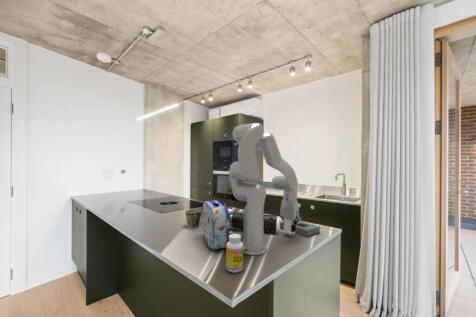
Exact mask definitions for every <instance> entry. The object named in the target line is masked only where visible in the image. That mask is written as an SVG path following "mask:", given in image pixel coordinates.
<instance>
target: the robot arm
mask: <svg viewBox="0 0 476 317" xmlns="http://www.w3.org/2000/svg"><path fill="white" fill-rule="evenodd" d="M264 131H265V130H264V126H263V124H261V123H259V122H251V123H245V124H240V125H237V126H235V127H234V128H233V130H232V138H233V140H234V141H235V142H237V143H238V144H239V145H238V148H237V158H238V160H237V161H234V162H232V163H231V164H230V167H229V170H228V177H229V181H230V187H231V191H232V195H233V197H234V198H235V199H236V200H237V201H241V202H243V203H244V202H245V203H246V205H245V207H244V209H243V214H244V230H243V240H241V242H242V243H243V254H245V255H248V256H260V255H263V254H266V253H267V249H268V247H267V246H266V245H265V244H264V238H265V237H264V232H265V231H264V213H265V210H264V209H265V202H266V197H267V192H266V191H267V190H266V189H265V187H264V186H263V185H262V184H260V183H255V181H257V180H258V179H259V178H260V170H259V163H258V158H257V150H261V153H262V155H263V158H264V160H265V163H266V165H267V166H269V167H271V168H273V169H275V170H277V171H278V172H280V173H281V174H282V175H276V176H274V177H273V178H272V180H271V182H270V183H271V186H272V188H273V189H275V190H280V191H283V194H282V198H283V199H282V200H281V204H280V213H279V217H280V218H281V220H282V222H284V218H287V219H291V220H292V225H291V232H295V231H296V224H297V223H298V222H299V221H301V222H302V218H301V217H300V208H299V201H298V185H299V183H298V177H297V174H296V172H295V170H294V168H293V167H292V165H290V163H288V162H287V161H286V160H285V159H284V158H282V154H281V152H280V150H279V147H278V144H277V141H276V138H275V136H274V134H272V133H271V132H264Z"/></svg>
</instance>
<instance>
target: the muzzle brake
mask: <svg viewBox="0 0 476 317" xmlns="http://www.w3.org/2000/svg"><path fill="white" fill-rule="evenodd" d="M277 218H278V216H277V214H264V232H268V233H269V232H270V233H276V232H277V226H278V223H277V222H278V220H277ZM229 225H230V226H231V227H233V228H232V229H240V231H244V213H243V212H239V211H238V212H237V211H234V212H232V213H231V215H230V218H229Z"/></svg>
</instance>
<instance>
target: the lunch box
mask: <svg viewBox="0 0 476 317" xmlns="http://www.w3.org/2000/svg"><path fill="white" fill-rule="evenodd" d="M228 209H229V208H228V207H227V206H226V205H224V204H223V203H222V202H220V201H219V200H217V199H215V200H208V201H206V200H205V201H204V202H203V204H202V211H201V217H202V229H203V235H204V239H205V242H206V244H207V246H208V248H209V249H210V250H211V251H214V250H217V249H226V245H227V243H228V242H229V235H231V234H232V232H230V230H229V211H228Z"/></svg>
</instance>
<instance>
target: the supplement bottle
mask: <svg viewBox="0 0 476 317" xmlns="http://www.w3.org/2000/svg"><path fill="white" fill-rule="evenodd" d="M241 239H242V235H240V234H239V233H231V235H229V242H228V243H227V245H226V248H225V250H226V253H225V254H226V255H225V256H226V257H225V259H226V260H225V268H226V270H227V271H228V272H230V273H238V272H242V270H244V253H243V243H242V240H241Z"/></svg>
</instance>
